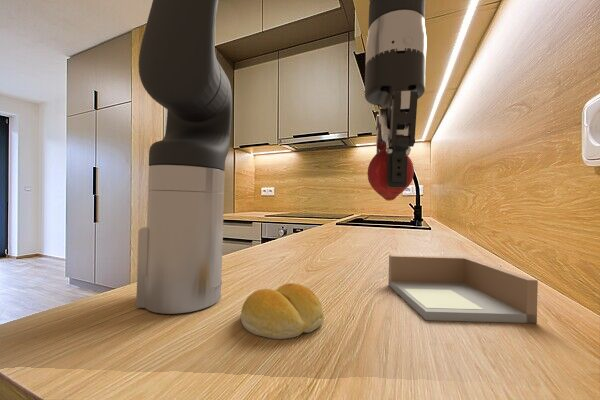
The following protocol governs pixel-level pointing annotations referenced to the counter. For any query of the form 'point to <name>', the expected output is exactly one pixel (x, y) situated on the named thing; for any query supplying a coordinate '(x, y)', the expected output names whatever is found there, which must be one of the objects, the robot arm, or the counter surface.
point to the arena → (463, 289)
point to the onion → (379, 175)
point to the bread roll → (282, 312)
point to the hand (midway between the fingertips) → (391, 188)
